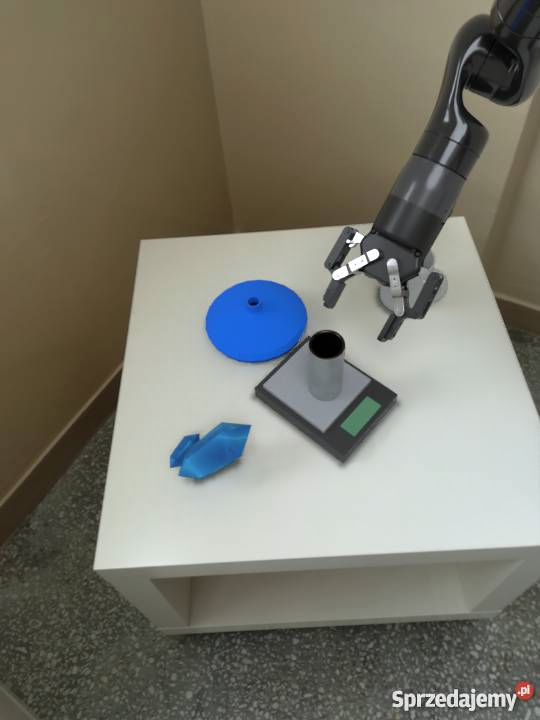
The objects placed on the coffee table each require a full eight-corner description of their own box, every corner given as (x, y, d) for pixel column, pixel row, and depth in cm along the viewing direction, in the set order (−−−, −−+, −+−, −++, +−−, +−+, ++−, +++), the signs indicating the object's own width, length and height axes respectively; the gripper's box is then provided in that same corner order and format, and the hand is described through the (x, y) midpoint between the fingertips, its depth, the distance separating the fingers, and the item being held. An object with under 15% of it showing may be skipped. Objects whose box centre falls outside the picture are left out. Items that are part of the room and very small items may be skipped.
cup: (389, 275, 88) (395, 235, 81) (448, 294, 85) (461, 254, 78) (372, 305, 85) (378, 266, 77) (433, 326, 82) (445, 288, 74)
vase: (326, 345, 81) (326, 317, 75) (232, 388, 78) (225, 362, 72) (279, 279, 89) (277, 248, 84) (193, 315, 86) (184, 286, 81)
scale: (395, 402, 75) (398, 391, 72) (343, 463, 70) (344, 453, 68) (308, 344, 82) (308, 331, 79) (255, 396, 77) (253, 384, 74)
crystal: (148, 443, 66) (227, 389, 67) (177, 462, 74) (247, 413, 74) (172, 492, 63) (255, 434, 63) (200, 507, 70) (274, 455, 71)
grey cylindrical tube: (310, 372, 75) (310, 328, 66) (342, 374, 74) (346, 330, 66) (307, 399, 72) (306, 357, 64) (340, 402, 72) (344, 360, 63)
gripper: (357, 174, 63) (297, 296, 68) (465, 225, 57) (390, 354, 62) (380, 188, 69) (323, 298, 74) (479, 235, 63) (409, 351, 68)
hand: (354, 323), depth 68 cm, fingers open, 8 cm apart
